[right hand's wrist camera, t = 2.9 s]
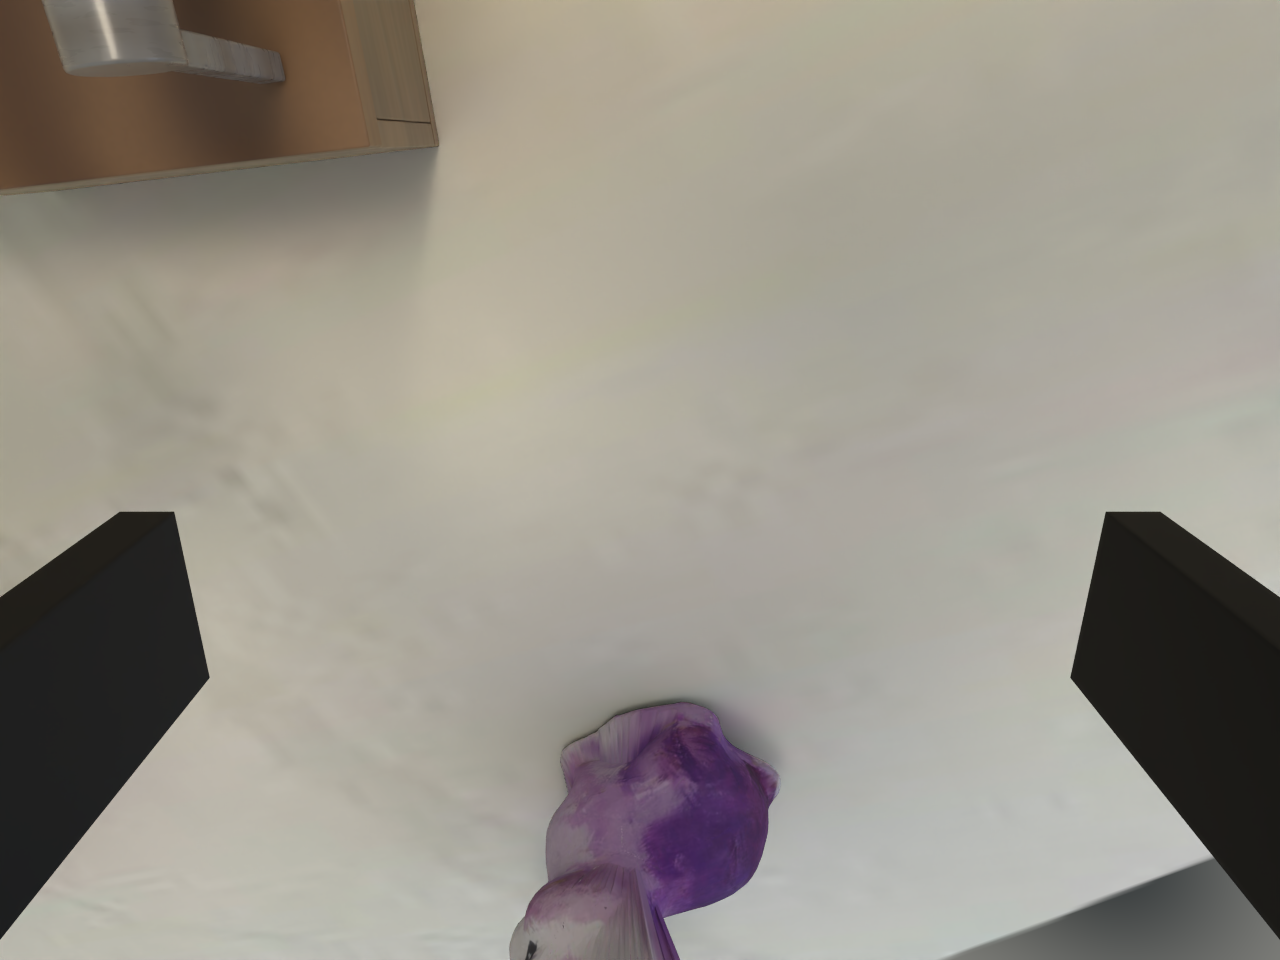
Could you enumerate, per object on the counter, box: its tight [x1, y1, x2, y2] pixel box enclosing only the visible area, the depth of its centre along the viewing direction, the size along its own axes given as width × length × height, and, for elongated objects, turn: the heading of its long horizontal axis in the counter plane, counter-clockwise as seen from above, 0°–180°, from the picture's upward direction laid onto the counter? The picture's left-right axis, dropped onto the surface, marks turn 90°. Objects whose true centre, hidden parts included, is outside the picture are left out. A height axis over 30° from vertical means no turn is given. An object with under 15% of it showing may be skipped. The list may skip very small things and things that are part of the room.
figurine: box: [509, 702, 781, 960], centre depth 37 cm, size 9×10×15 cm
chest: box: [0, 0, 439, 196], centre depth 27 cm, size 16×9×10 cm, turn 96°
